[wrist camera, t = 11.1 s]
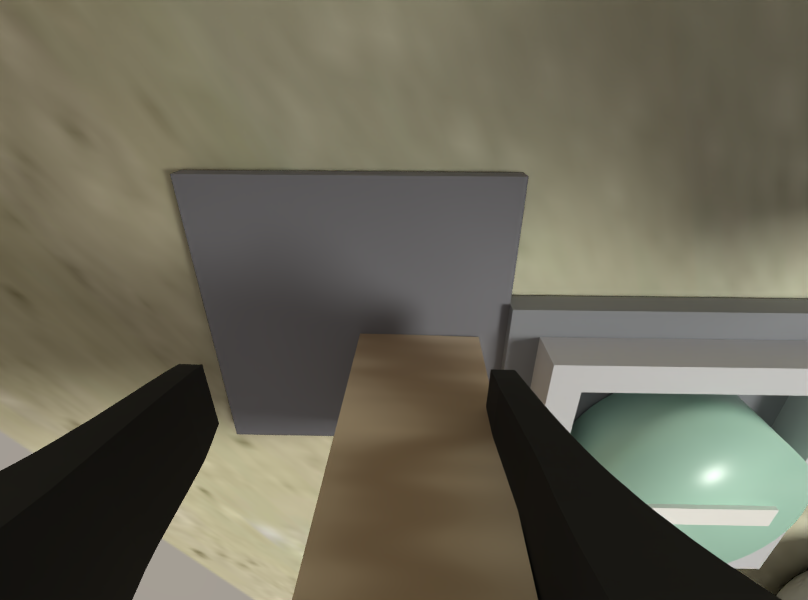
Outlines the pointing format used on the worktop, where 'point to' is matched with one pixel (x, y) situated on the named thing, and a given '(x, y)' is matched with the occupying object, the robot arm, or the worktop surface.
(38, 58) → the worktop surface
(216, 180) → the mat
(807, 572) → the pump dispenser
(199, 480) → the worktop surface
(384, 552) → the wooden rectangular block
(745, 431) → the button
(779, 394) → the switch panel
